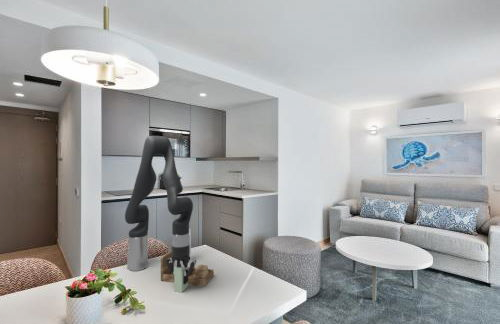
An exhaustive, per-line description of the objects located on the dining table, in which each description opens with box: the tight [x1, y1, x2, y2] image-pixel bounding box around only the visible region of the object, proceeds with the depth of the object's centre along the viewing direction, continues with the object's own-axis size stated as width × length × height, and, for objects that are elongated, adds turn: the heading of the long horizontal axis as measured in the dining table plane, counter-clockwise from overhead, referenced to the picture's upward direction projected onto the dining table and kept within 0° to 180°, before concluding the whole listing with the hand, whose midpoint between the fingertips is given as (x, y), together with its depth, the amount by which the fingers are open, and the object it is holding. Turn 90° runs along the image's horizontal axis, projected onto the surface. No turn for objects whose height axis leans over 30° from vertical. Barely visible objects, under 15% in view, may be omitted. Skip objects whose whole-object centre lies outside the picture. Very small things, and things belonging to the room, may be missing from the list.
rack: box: [160, 249, 215, 287], centre depth 118 cm, size 22×11×12 cm, turn 76°
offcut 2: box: [194, 271, 209, 279], centre depth 116 cm, size 5×6×3 cm
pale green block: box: [173, 266, 188, 293], centre depth 108 cm, size 4×5×10 cm
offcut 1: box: [195, 264, 209, 276], centre depth 116 cm, size 4×5×3 cm
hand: (181, 282), depth 108 cm, fingers closed on pale green block, 3 cm apart
